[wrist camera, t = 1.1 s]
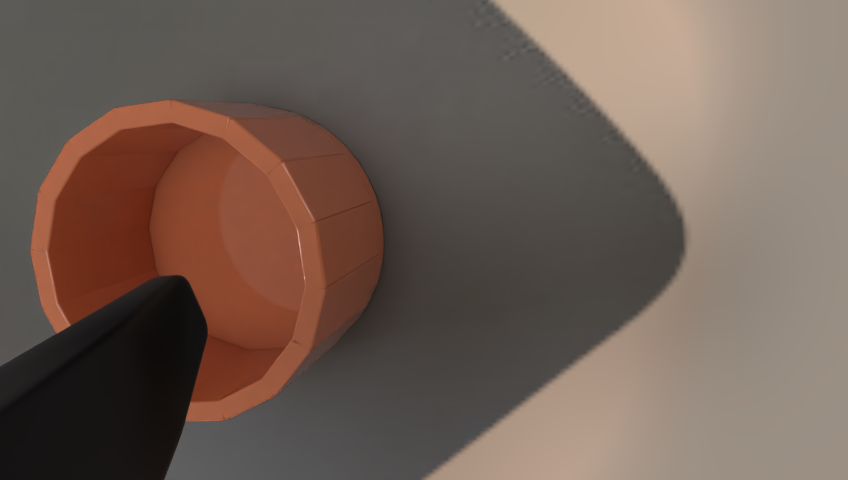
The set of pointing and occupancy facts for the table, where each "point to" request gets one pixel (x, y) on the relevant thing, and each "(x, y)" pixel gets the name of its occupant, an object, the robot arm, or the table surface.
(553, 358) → the table surface
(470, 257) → the table surface
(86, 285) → the cup
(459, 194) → the table surface
